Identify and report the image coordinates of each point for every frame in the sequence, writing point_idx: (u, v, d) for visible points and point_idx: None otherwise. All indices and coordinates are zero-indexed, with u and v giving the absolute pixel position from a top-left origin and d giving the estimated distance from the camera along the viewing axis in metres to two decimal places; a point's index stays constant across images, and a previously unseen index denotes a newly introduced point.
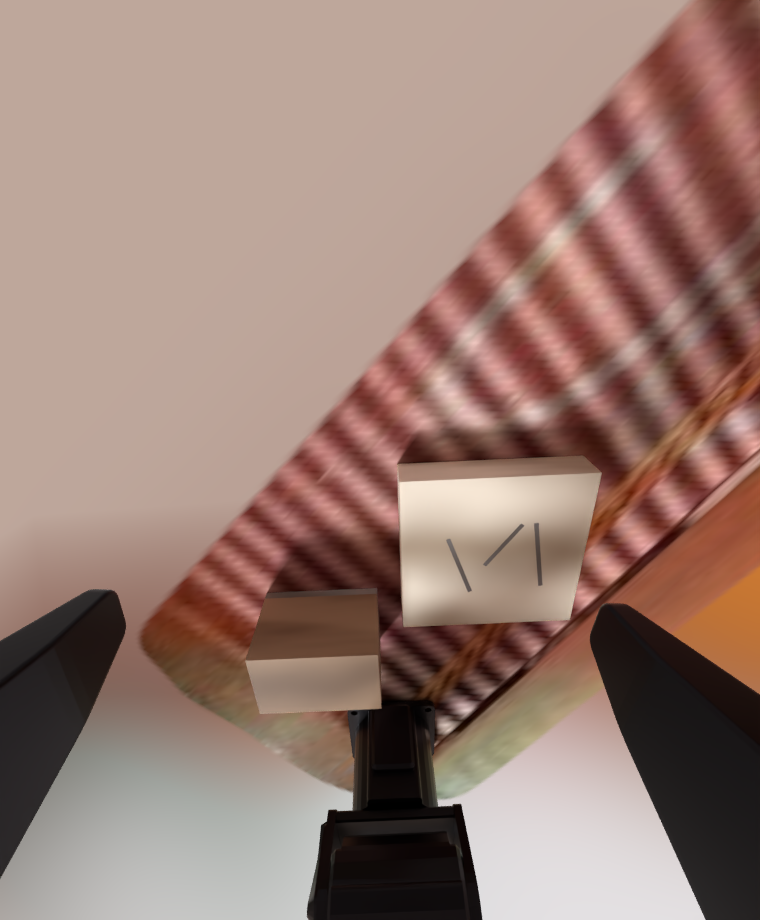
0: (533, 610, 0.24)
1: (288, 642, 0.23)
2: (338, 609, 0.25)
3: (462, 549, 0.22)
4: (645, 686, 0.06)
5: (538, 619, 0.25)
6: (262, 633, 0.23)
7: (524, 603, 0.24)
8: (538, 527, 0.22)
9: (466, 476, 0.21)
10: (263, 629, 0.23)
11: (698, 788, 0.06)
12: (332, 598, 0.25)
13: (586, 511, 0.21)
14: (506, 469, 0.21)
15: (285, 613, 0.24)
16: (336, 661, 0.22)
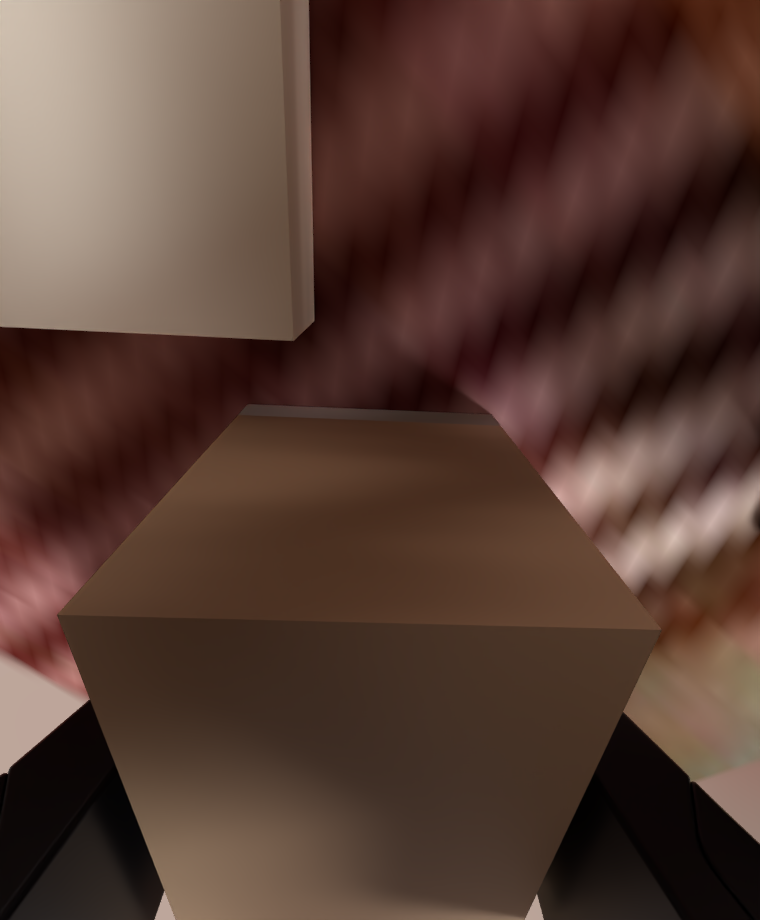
0: None
1: None
2: None
3: None
4: None
5: None
6: None
7: None
8: None
9: None
10: None
11: None
12: None
13: None
14: None
15: None
16: (158, 787, 0.04)
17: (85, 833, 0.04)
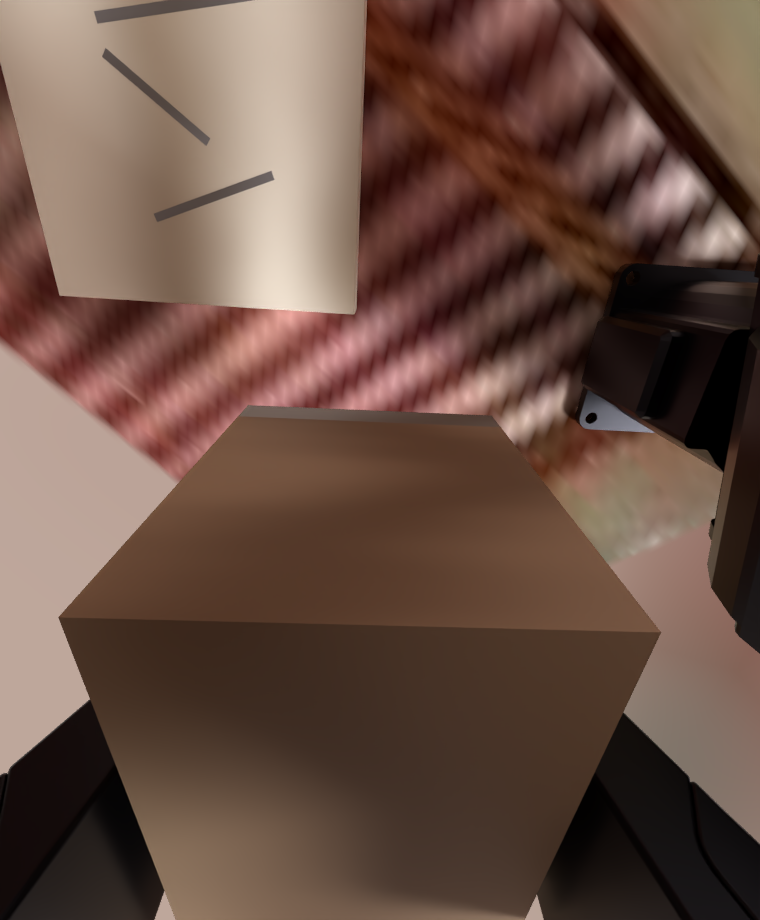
0: (329, 8, 0.11)
1: None
2: None
3: (175, 190, 0.13)
4: None
5: None
6: None
7: (309, 36, 0.11)
8: (105, 9, 0.11)
9: (36, 178, 0.13)
10: None
11: None
12: None
13: None
14: None
15: None
16: (159, 789, 0.04)
17: (85, 833, 0.04)
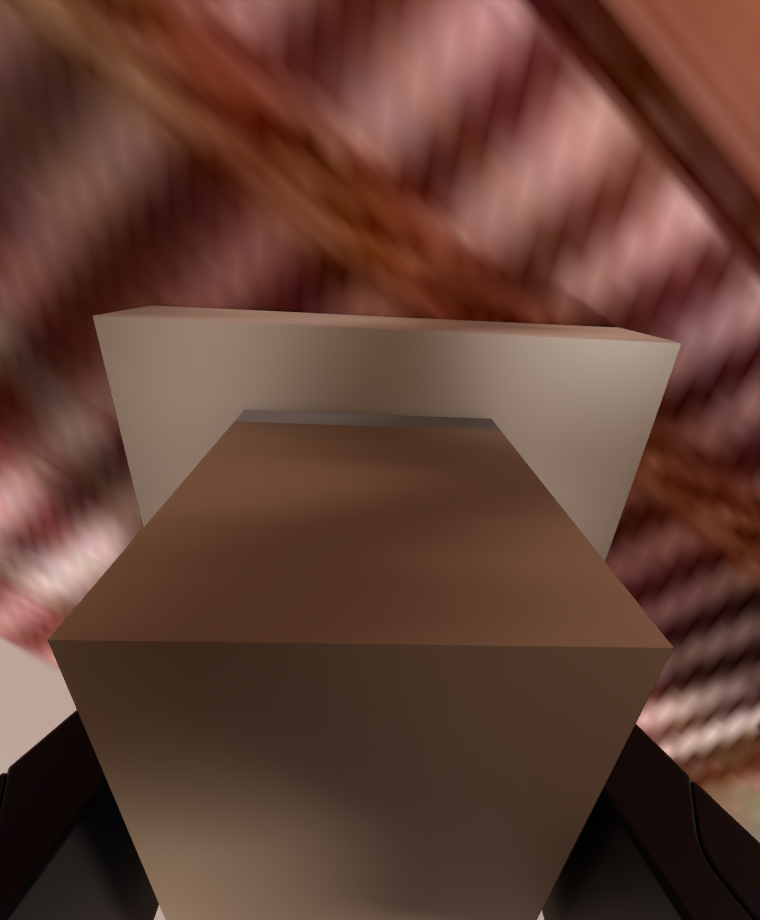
0: (593, 460, 0.08)
1: None
2: None
3: None
4: None
5: (643, 439, 0.08)
6: None
7: (558, 484, 0.08)
8: None
9: None
10: None
11: None
12: None
13: (231, 344, 0.07)
14: None
15: None
16: (154, 811, 0.04)
17: (84, 833, 0.04)
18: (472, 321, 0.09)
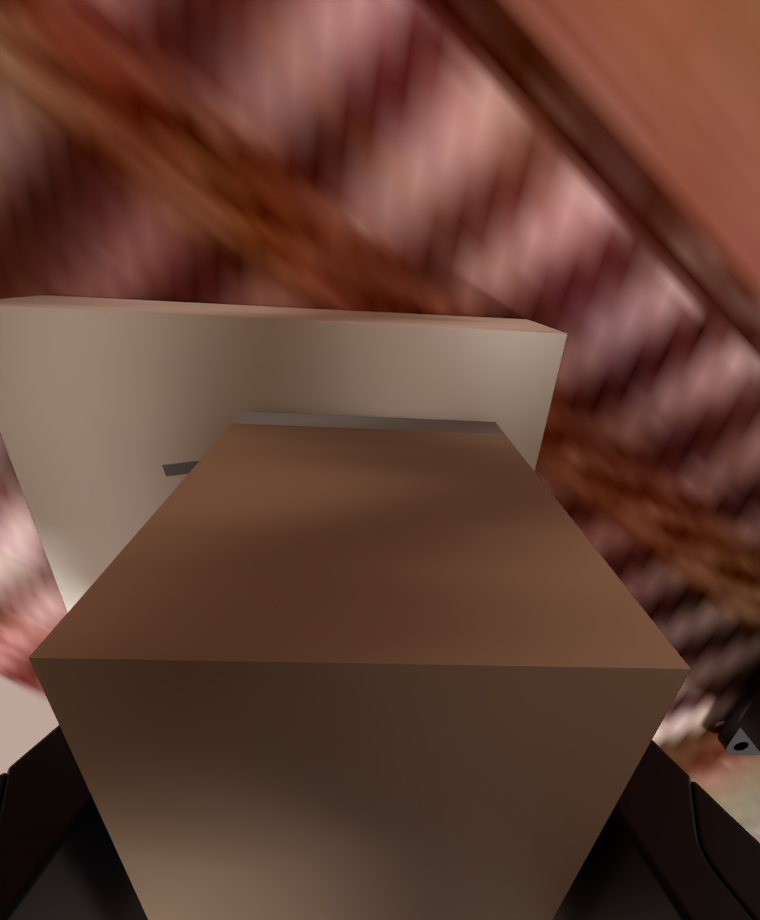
0: None
1: None
2: None
3: None
4: None
5: (541, 433, 0.08)
6: None
7: None
8: (178, 463, 0.08)
9: (76, 601, 0.10)
10: None
11: None
12: None
13: (100, 333, 0.07)
14: None
15: None
16: (145, 831, 0.04)
17: (84, 833, 0.04)
18: (374, 312, 0.08)
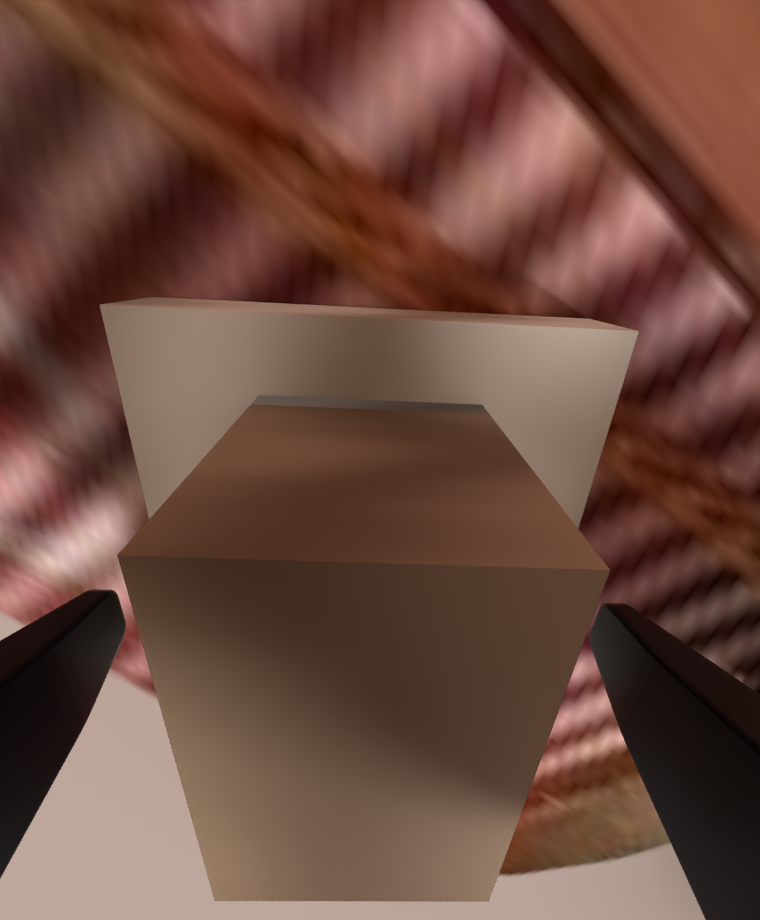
0: (561, 440, 0.09)
1: None
2: None
3: None
4: (645, 686, 0.06)
5: (608, 421, 0.09)
6: None
7: (530, 463, 0.09)
8: None
9: None
10: None
11: (698, 788, 0.06)
12: None
13: (226, 331, 0.08)
14: None
15: None
16: (191, 715, 0.05)
17: None
18: (451, 312, 0.09)
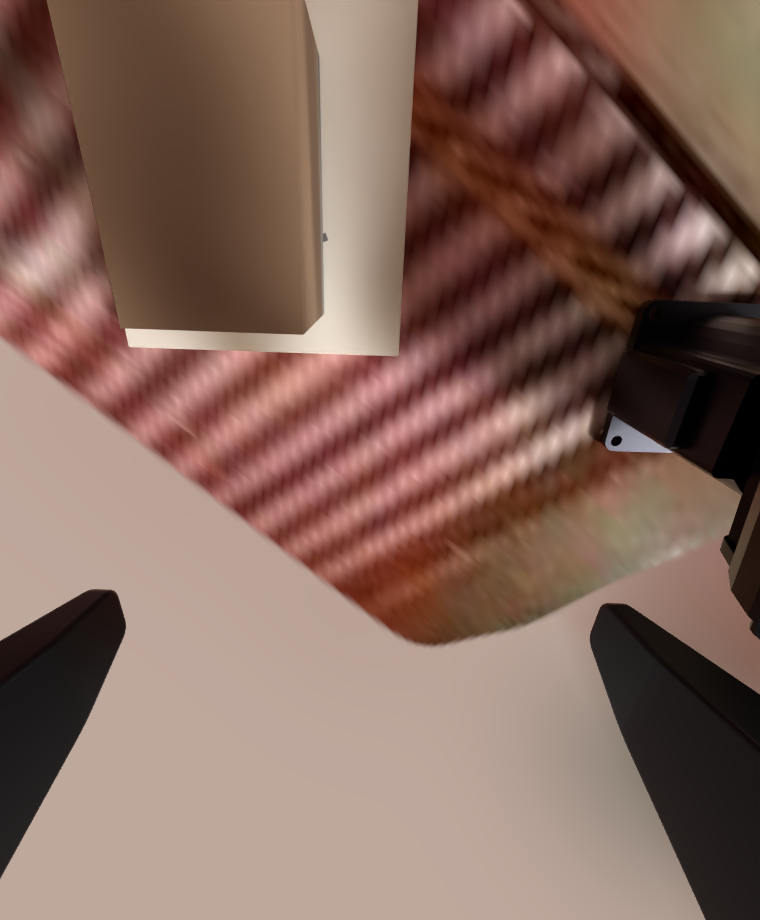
0: (381, 91, 0.12)
1: None
2: None
3: None
4: (645, 686, 0.06)
5: (413, 75, 0.12)
6: None
7: (362, 116, 0.12)
8: None
9: None
10: None
11: (698, 788, 0.05)
12: None
13: None
14: None
15: None
16: (80, 78, 0.08)
17: None
18: None
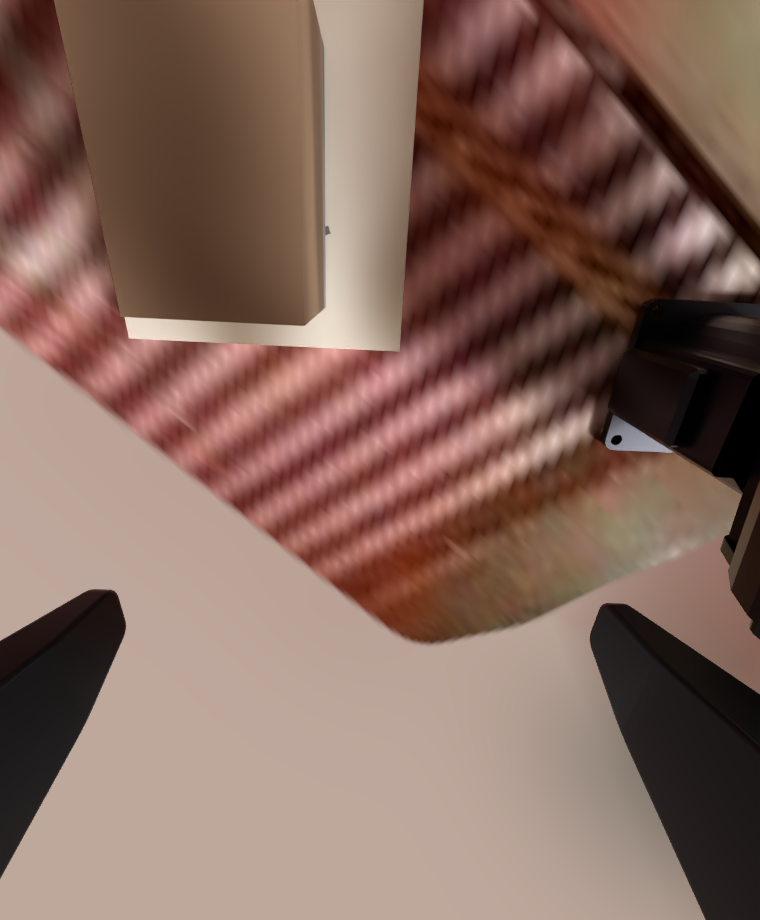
0: (386, 84, 0.12)
1: None
2: None
3: None
4: (645, 686, 0.06)
5: (418, 68, 0.12)
6: None
7: (367, 108, 0.12)
8: None
9: None
10: None
11: (698, 788, 0.05)
12: None
13: None
14: None
15: None
16: (84, 62, 0.08)
17: None
18: None
